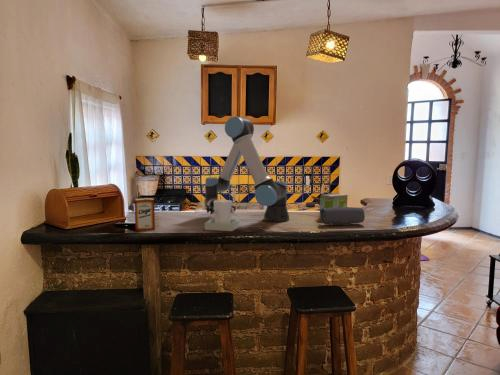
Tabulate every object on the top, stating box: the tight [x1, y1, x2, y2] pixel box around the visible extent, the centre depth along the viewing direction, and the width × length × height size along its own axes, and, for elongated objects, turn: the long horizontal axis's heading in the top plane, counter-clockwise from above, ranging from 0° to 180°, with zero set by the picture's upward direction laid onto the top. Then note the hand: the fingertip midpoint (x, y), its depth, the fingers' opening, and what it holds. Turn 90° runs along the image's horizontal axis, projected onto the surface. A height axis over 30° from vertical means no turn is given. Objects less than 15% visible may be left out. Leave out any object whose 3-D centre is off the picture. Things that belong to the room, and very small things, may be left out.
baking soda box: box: [134, 197, 156, 232], centre depth 186 cm, size 10×6×16 cm
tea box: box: [318, 193, 348, 219], centre depth 220 cm, size 15×10×15 cm, turn 131°
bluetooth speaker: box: [319, 206, 365, 226], centre depth 200 cm, size 23×9×10 cm, turn 100°
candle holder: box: [213, 199, 233, 224], centre depth 191 cm, size 10×10×12 cm
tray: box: [204, 217, 241, 232], centre depth 192 cm, size 15×15×4 cm
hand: (225, 211), depth 187 cm, fingers closed on candle holder, 9 cm apart
